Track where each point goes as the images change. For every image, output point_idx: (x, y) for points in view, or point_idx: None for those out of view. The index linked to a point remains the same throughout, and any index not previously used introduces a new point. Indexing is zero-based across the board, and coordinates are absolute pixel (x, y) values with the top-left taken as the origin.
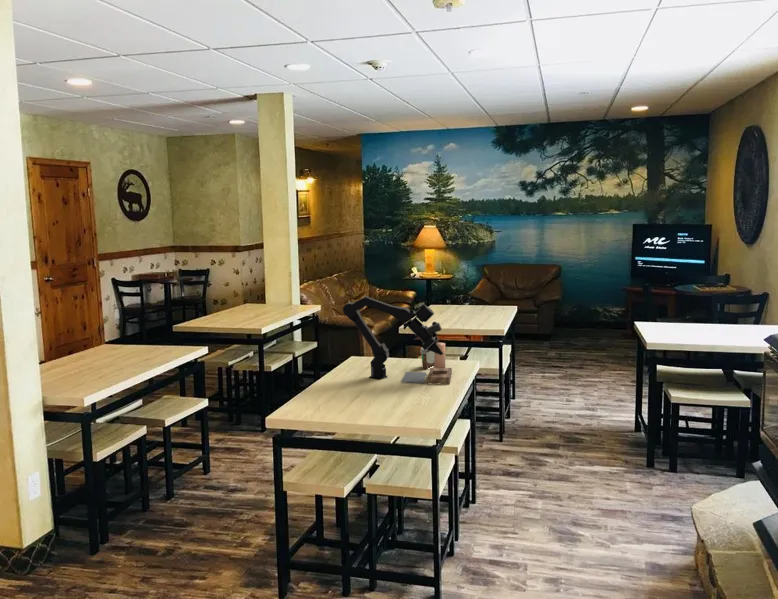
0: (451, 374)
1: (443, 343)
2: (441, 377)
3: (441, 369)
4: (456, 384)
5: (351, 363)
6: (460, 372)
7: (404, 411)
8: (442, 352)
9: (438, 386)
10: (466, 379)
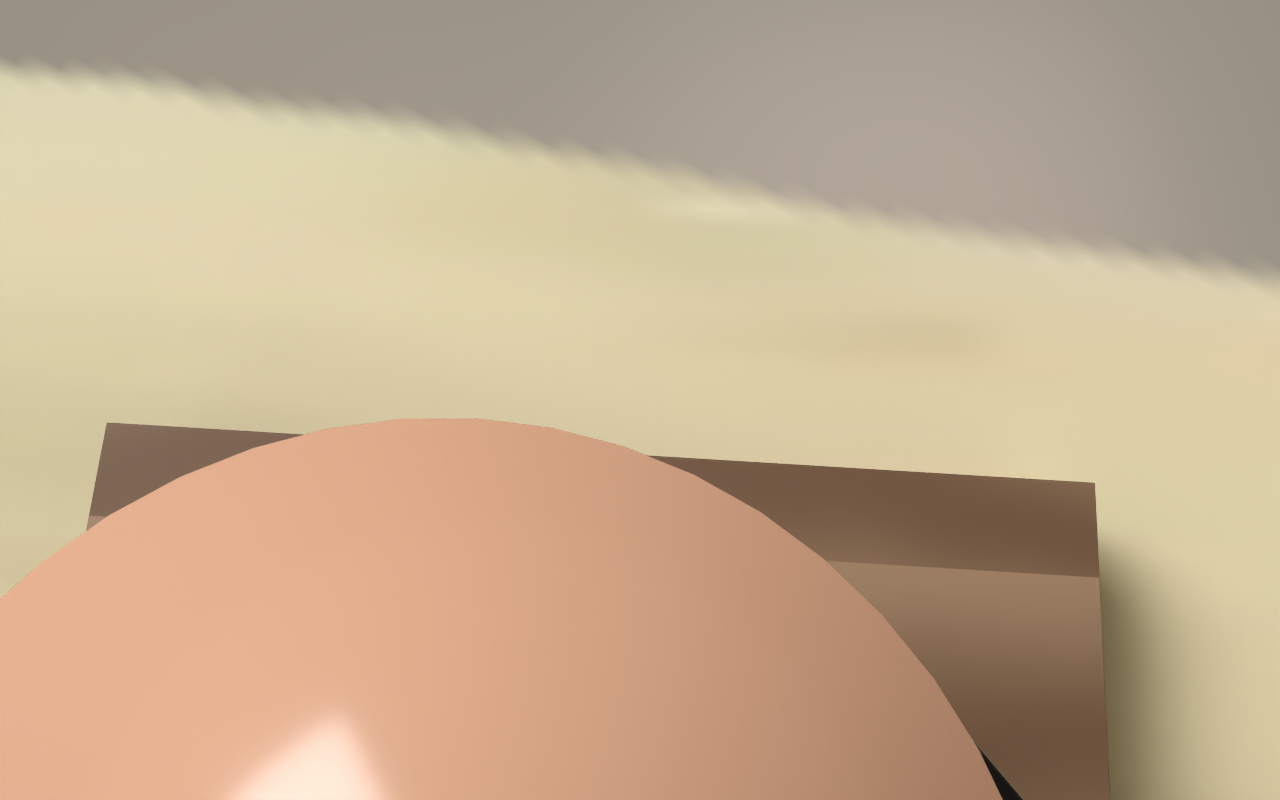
0: None
1: (311, 611)
2: (1101, 693)
3: None
4: (1041, 368)
5: None
6: (51, 267)
7: None
8: None
9: (1254, 755)
10: (639, 168)
